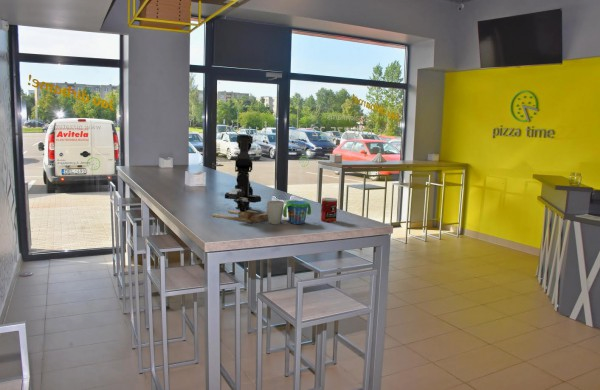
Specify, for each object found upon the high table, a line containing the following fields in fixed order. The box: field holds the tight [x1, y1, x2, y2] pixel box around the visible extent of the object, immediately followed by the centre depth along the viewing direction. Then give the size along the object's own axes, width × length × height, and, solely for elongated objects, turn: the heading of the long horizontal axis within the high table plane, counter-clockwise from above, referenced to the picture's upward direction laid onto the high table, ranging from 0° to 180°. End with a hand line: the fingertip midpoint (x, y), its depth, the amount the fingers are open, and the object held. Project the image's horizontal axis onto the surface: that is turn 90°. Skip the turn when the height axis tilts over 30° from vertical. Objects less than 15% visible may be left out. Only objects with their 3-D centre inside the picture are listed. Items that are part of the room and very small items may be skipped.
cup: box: [266, 200, 285, 225], centre depth 230 cm, size 8×8×10 cm
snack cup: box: [282, 199, 312, 225], centre depth 231 cm, size 16×10×10 cm
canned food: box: [320, 197, 338, 223], centre depth 239 cm, size 8×8×11 cm
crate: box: [237, 209, 258, 220], centre depth 236 cm, size 7×6×4 cm
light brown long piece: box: [211, 210, 269, 224], centre depth 239 cm, size 14×25×3 cm, turn 58°
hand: (242, 214), depth 239 cm, fingers closed
